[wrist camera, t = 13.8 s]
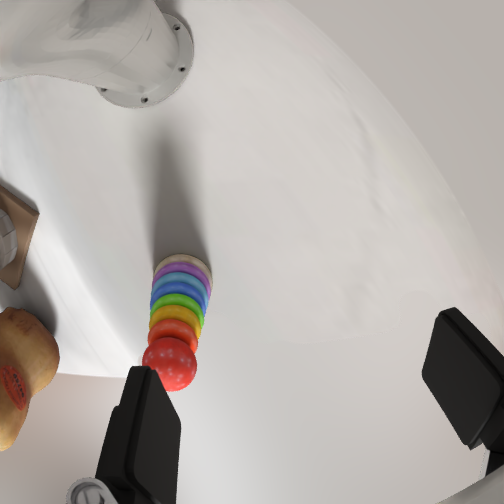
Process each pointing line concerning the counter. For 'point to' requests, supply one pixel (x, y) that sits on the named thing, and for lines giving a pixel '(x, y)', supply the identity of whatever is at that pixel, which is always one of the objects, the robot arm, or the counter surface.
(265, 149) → the counter surface
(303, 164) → the counter surface
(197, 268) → the stacking toy
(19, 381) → the butternut squash
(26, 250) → the shaft housing
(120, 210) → the counter surface
